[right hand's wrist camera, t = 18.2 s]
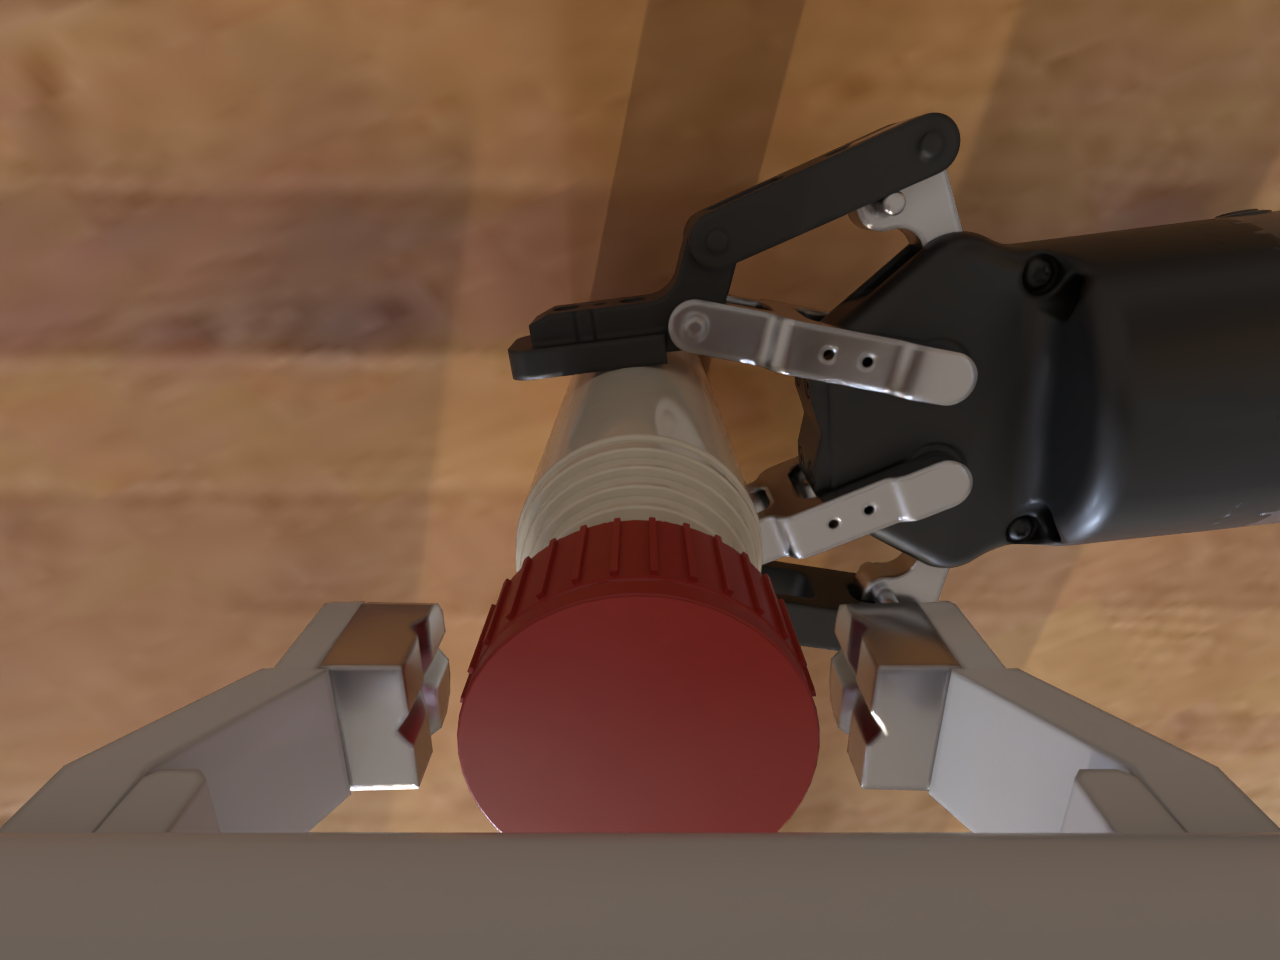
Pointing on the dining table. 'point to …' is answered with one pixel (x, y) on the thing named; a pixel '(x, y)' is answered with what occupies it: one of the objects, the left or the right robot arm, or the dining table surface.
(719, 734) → the cap
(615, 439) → the bottle
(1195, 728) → the dining table surface
